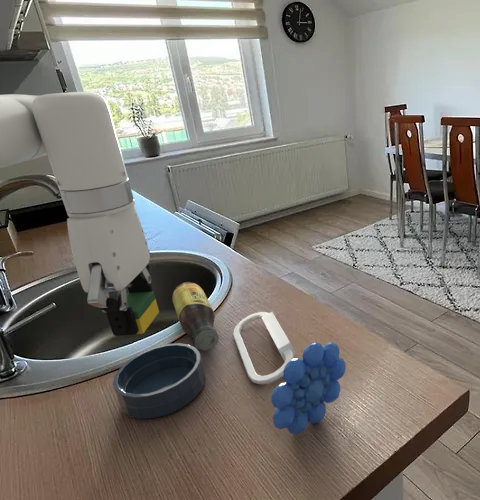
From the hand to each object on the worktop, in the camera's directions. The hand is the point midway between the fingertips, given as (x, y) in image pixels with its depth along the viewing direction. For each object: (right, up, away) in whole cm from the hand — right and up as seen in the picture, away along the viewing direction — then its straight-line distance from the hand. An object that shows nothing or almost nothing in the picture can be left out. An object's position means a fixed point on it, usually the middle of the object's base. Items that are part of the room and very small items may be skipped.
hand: (136, 320), depth 59 cm
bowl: (+2, -12, +5) cm, 13 cm away
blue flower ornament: (+25, -13, -2) cm, 28 cm away
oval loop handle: (+15, -8, +13) cm, 22 cm away
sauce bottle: (-4, +1, +28) cm, 28 cm away
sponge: (0, -1, 0) cm, 1 cm away
